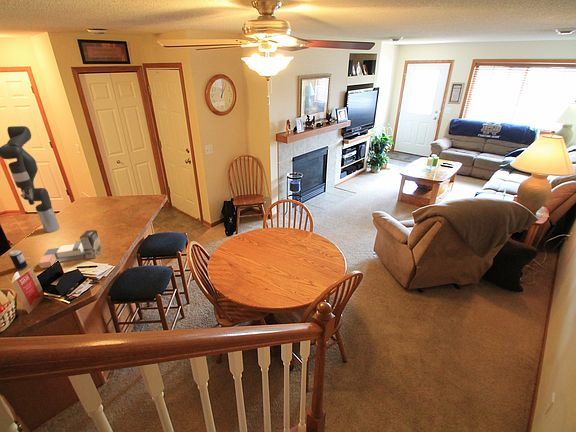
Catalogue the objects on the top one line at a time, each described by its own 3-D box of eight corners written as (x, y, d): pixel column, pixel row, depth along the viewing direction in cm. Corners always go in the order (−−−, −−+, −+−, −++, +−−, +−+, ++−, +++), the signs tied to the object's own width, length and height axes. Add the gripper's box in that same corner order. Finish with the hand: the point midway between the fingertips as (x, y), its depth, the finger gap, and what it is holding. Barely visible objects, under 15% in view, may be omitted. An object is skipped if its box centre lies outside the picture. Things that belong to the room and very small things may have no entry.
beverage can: (25, 263, 189) (18, 248, 184) (29, 267, 186) (22, 251, 181) (14, 268, 185) (6, 252, 179) (18, 271, 182) (10, 255, 177)
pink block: (45, 260, 191) (42, 255, 189) (56, 259, 192) (54, 253, 190) (40, 268, 184) (38, 262, 182) (52, 266, 186) (50, 261, 184)
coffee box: (96, 258, 196) (89, 237, 189) (86, 258, 196) (78, 237, 188) (103, 250, 204) (96, 229, 197) (93, 250, 204) (86, 230, 196)
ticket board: (48, 250, 202) (45, 242, 200) (89, 244, 210) (86, 237, 207) (39, 266, 188) (35, 258, 185) (83, 259, 195) (80, 251, 192)
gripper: (18, 175, 188) (29, 200, 196) (9, 183, 177) (21, 209, 186) (33, 174, 191) (42, 199, 199) (25, 182, 180) (35, 207, 188)
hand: (32, 204), depth 192 cm, fingers closed
